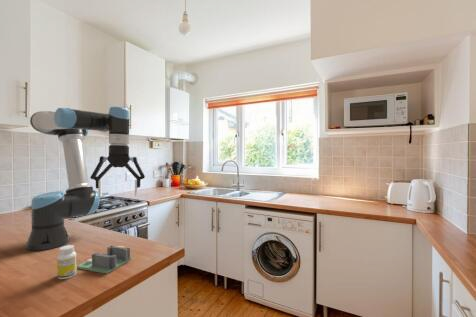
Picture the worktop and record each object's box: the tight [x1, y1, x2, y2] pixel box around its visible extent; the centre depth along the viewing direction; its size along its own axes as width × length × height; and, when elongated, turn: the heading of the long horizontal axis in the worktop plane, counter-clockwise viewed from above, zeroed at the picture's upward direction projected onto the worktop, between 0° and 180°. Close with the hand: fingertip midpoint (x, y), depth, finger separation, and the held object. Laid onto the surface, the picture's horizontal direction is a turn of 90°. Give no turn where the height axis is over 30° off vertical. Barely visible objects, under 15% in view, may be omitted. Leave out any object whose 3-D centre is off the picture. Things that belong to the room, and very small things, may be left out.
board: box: [77, 252, 133, 275], centre depth 91 cm, size 14×12×2 cm
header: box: [91, 245, 131, 269], centre depth 90 cm, size 9×10×4 cm
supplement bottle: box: [56, 244, 78, 280], centre depth 82 cm, size 5×5×10 cm
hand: (118, 195), depth 100 cm, fingers open, 13 cm apart
